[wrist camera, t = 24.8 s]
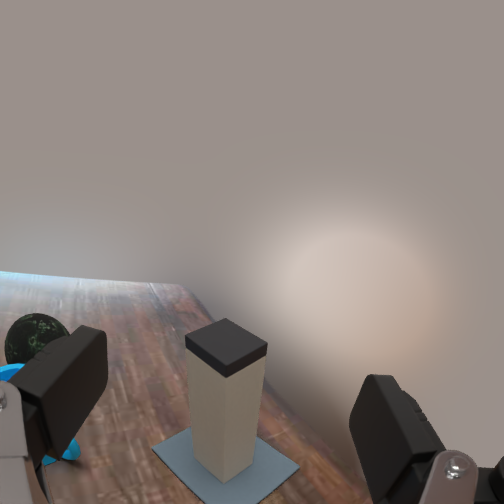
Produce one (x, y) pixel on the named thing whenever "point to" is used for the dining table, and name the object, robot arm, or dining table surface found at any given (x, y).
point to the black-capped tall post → (224, 395)
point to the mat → (236, 489)
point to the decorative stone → (31, 337)
